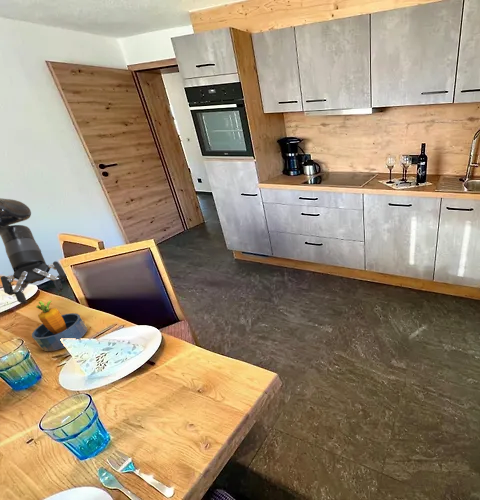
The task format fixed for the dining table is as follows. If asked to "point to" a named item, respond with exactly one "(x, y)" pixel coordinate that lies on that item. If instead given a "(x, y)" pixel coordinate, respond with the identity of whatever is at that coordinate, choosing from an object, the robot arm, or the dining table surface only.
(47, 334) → the bowl
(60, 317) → the carrot
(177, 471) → the dining table surface
